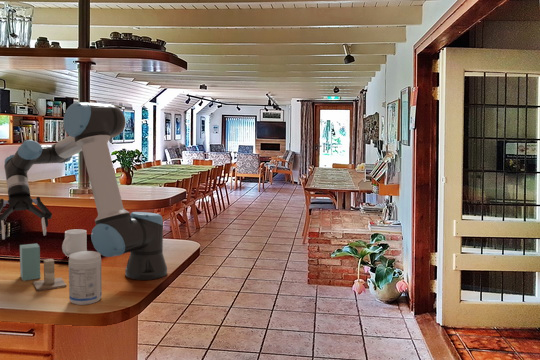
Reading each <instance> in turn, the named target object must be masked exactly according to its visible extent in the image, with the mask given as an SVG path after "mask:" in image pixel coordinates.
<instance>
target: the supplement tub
mask: <svg viewBox="0 0 540 360" xmlns="http://www.w3.org/2000/svg"><path fill="white" fill-rule="evenodd" d="M101 256H102V255H101V253H99V252H98V251H94V250H87V251H81V252H76V253H73V254H71V255H70V256H69V258H68V284H69V285H68V290H69V291H68V292H69V293H68V294H69V296H68V297H69V302H70V303H71V304H74V305H78V306H84V305H85V306H86V305H87V306H88V305H91V304H96V303H97V302H99V301H100V300H101V299H102V295H103V294H102V293H103V292H102V291H103V290H102V286H103V285H102V257H101Z"/></svg>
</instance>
